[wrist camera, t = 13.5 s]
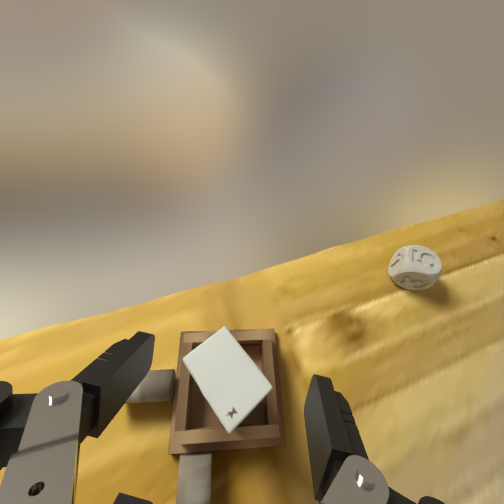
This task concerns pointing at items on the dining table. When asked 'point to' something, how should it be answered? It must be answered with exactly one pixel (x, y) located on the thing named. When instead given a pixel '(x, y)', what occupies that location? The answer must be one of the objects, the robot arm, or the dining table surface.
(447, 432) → the dining table surface
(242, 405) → the skincare box
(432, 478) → the dining table surface
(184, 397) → the block
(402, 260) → the die
